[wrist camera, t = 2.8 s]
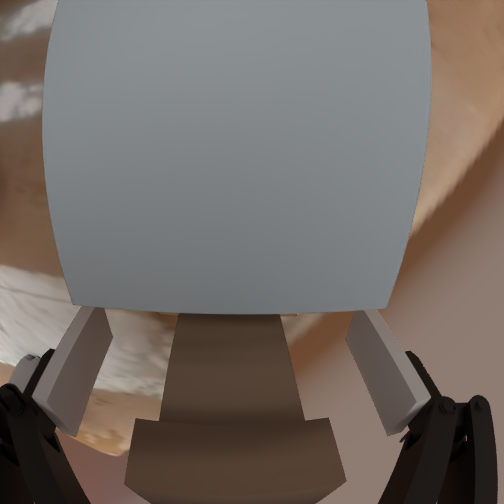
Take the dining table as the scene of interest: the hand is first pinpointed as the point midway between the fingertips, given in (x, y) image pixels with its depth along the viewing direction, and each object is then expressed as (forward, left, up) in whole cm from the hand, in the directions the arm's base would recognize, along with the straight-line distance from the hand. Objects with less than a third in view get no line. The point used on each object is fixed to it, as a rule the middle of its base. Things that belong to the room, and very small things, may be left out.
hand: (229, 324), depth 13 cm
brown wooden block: (0, 0, -7) cm, 7 cm away
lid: (-14, 0, +1) cm, 14 cm away
